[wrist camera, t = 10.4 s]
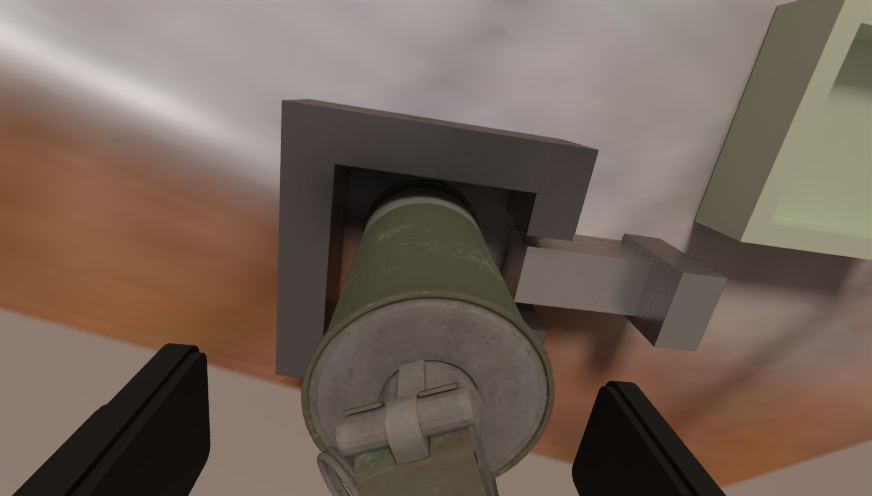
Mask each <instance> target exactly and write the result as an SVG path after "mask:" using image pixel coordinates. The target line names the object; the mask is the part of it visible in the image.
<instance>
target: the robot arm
mask: <svg viewBox="0 0 872 496" xmlns="http://www.w3.org/2000/svg"><path fill="white" fill-rule="evenodd" d="M208 401H209V400H208V377H207V357H206V354H205V353H199V349H198V347H197V346H195V345H184V344H172V343H169V344H166V345H165V346H163V347H162V348H161V349H160V350H159V351H158V352H157V353H156V354H155V355H154V357H153V358H152V359H151V360H150V361H149V362H148V363H147V364H146V365H145V366H144V367H143V368H142V369H141V370H140V371H139V372H138V373H137V374H136V375H135V376H134V377H133V378H132V379H131V380H130V381H129V382H128V383H127V384H126V385H125V386H124V387H123V389H122V390H121V391H120V392H119V393H118V394H117V395H116V396H115V397H114V398H113V399H112V400H111V401H110V402H109V403H108V404H106V405H103V406H101V407H100V408H99V409H98V410H97V411H95V413H93V415H91V416H90V418H88V419H87V420H86V421H85V422H84V423H83V424H82V425H81V426H80V427H79V428H78V429H77V431H76V432H75V433H74V434H73V435H72V436H71V437H70V438H69V439H68V440H67V441H66V442H65V443H64V444H63V445H62V446H61V447H60V448H59V449H58V450H57V451H56V452H55V453H54V454H53V455H52V456H51V457H50V458H49V459H48V460H47V461H46V462H45V463H44V464H43V465H42V466H41V467H40V468H39V469H38V470H37V471H36V472H35V473H34V474H33V475H32V476H31V477H30V478H29V479H28V480H27V481H26V482H25V483H24V484H23V485H22V486H21V487H20V488H19V489H18V490H17V491H16V492H15V493H14V494H13V495H12V496H188V495H189V493H190V491H191V490H192V488H193V486H194V484H195V482H196V480H197V479H198V477H199V475H200V473H201V471H202V469H203V468H204V465H205V464H206V462H207V459H208V456H209V452H210V424H209V402H208ZM572 477H573V482H574V484H575V487H576V489H577V491H578V493H579V496H726V495H725V494H724V492H723V491H722V490H721V489H720V488H719V486H718V485H717V484H716V483H715V481H714V480H713V479H712V478H711V476H710V475H709V474H708V473H707V471H706V470H705V469H704V468H703V466H702V465H701V464H700V463H699V462H698V460H697V459H696V458H695V457H694V455H693V454H692V453H691V452H690V450H689V449H688V448H687V447H686V445H685V444H684V443H683V442H682V440H681V439H680V438H679V437H678V436H677V434H676V433H675V432H674V431H673V429H672V428H671V427H670V426H669V424H668V423H667V422H666V421H665V419H664V418H663V417H662V416H661V414H660V413H659V412H658V411H657V409H656V408H655V407H654V406H653V405H652V403H651V402H650V401H649V400H648V398H647V397H646V396H645V395H644V393H643V392H642V391H641V390H640V388H639V387H638V386H637V385H636V384H635V383H632V382H621V381H609V382H608V383H607V384H606V385H605V386H602V387H601V388H600V390H599V392H598V395H597V398H596V400H595V403H594V406H593V409H592V412H591V415H590V418H589V420H588V423H587V426H586V429H585V432H584V435H583V438H582V440H581V443H580V446H579V449H578V452H577V455H576V458H575V460H574V463H573V467H572Z"/></svg>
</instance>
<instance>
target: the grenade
mask: <svg viewBox="0 0 872 496" xmlns="http://www.w3.org/2000/svg"><path fill="white" fill-rule="evenodd" d="M554 395H555V384H554V377H553V371H552V367H551V364H550V360H549V358H548V355H547V353H546V351H545V349H544V347H543V345H542V343H541V341H540V340H539V339H538V337H537V336H536V335H535V333H534V332H533V330H532V329H531V328H530V327H529V326H528V325H527V324H526V323H525V322H524V320H523V318H522V316H521V314H520V312H519V310H518V309H517V307H516V304H515V302H514V300H513V298H512V296H511V294H510V292H509V290H508V288H507V286H506V284H505V282H504V280H503V277H502V275H501V273H500V271H499V269H498V267H497V265H496V263H495V261H494V259H493V257H492V255H491V252H490V250H489V248H488V246H487V244H486V242H485V240H484V238H483V236H482V234H481V232H480V230H479V224H478V220H477V217H476V215H475V212H474V210H473V209H472V207H471V205H470V204H469V202H468V201H467V200H466V199H465V198H464V197H463V196H462V195H461V194H460V193H458V192H457V191H456V190H454V189H453V188H451V187H449V186H447V185H445V184H443V183H440V182H436V181H430V180H412V181H407V182H404V183H401V184H398V185H396V186H394V187H392V188H390V189H389V190H387V191H386V192H384V193H383V194H382V195H381V196H380V197H379V198H378V199H377V200H376V201H375V202H374V204H373V205H372V207H371V208H370V210H369V212H368V214H367V216H366V219H365V223H364V228H363V236H362V239H361V242H360V244H359V247H358V250H357V252H356V255H355V258H354V260H353V263H352V266H351V268H350V271H349V274H348V276H347V279H346V282H345V284H344V287H343V290H342V292H341V295H340V298H339V300H338V303H337V306H336V308H335V311H334V314H333V316H332V319H331V322H330V324H329V327H328V330H327V332H326V333H325V334H324V336H323V337H322V338H321V340H320V341H319V343H318V344H317V346H316V348H315V349H314V351H313V353H312V355H311V357H310V359H309V361H308V364H307V367H306V369H305V373H304V378H303V383H302V392H301V401H302V411H303V416H304V419H305V423H306V426H307V429H308V431H309V433H310V435H311V437H312V439H313V441H314V443H315V444H316V446H317V447H318V448H319V450H320V451H321V452H322V453H320V454H319V456H318V457H317V463H318V466H319V469H320V472H321V474H322V477H323V479H324V481H325V483H326V485H327V487H328V488H329V490H330V492H331V493H332V495H333V496H341V495H342V496H350V494H349V493H348V491H347V490H346V488H345V487H344V485H343V483H344V484H345V485H346V487H347V488H348V490H349V491H350V493H351V494H352V496H499V495H498V490H497V485H496V481H495V478H496V477H498V476H500V475H502V474H503V473H505V472H506V471H508V470H509V469H511V468H512V467H514V466H515V465H516V464H517V463H518V462H520V461H521V460H522V459H523V458H524V457H525V456H526V455H527V454H528V453H529V452H530V450H531V449H532V448H533V447H534V446H535V444H536V443H537V442H538V440H539V439H540V437H541V435H542V434H543V432H544V430H545V428H546V426H547V424H548V422H549V419H550V416H551V413H552V408H553V404H554ZM324 461H325V462H324ZM325 464H326V465H325ZM326 467H327V468H326ZM327 469H328V470H327ZM328 471H329V472H328ZM329 473H330V475H329ZM330 476H331V477H330ZM350 477H351V478H352V479H351V478H350ZM331 478H332V479H333V481H334V483H335V484H334V483H333V481H332V479H331ZM341 480H342V481H343V483H342V481H341ZM352 480H353V481H354V482H353V481H352ZM355 484H356V485H357V486H356V485H355ZM335 485H336V486H335ZM336 487H337V488H338V489H337V488H336ZM357 487H358V488H357ZM358 489H359V490H358ZM338 490H339V491H338ZM339 492H340V493H339ZM340 494H341V495H340Z"/></svg>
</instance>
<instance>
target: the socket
mask: <svg viewBox="0 0 872 496" xmlns="http://www.w3.org/2000/svg"><path fill="white" fill-rule="evenodd" d="M598 151H599V150H597V149H593V148H590V147H586V146H583V145H580V144H576V143H573V142H570V141H566V140H562V139H556V138H550V137H543V136H537V135H531V134H524V133H518V132H512V131H506V130H499V129H493V128H487V127H480V126H474V125H468V124H462V123H455V122H449V121H443V120H436V119H430V118H424V117H418V116H411V115H405V114H399V113H392V112H386V111H380V110H374V109H367V108H361V107H355V106H348V105H342V104H336V103H330V102H323V101H317V100H311V99H301V100H282V122H281V167H280V212H279V256H278V301H277V346H276V375H283V376H293V377H304V373H305V369H306V367H307V364H308V361H309V359H310V357H311V355H312V353H313V351H314V349H315V348H316V346H317V344H318V343H319V341H320V340H321V338H322V337H323V336H324V334H325V333H326V332H327V330H328V327H329V324H330V322H331V319H332V316H333V314H334V311H335V308H336V306H337V303H338V298H339V285H340V273H341V260H342V247H343V235H344V222H345V210H346V197H347V185H348V172H349V166H353V167H360V168H367V169H374V170H380V171H387V172H394V173H401V174H408V175H415V176H422V177H429V178H436V179H443V180H450V181H457V182H463V183H470V184H477V185H484V186H491V187H498V188H505V189H511V191H510V196H509V200H508V205H507V209H506V210H507V211H508V213H509V214H510V215H511V216H512V218H513V219H514V220H515V221H516V223H517V224H518V225H519V226H520V228H521V229H522V230H523V231H524V233H525V234H526V235H528V236H535V237H543V238H550V239H558V240H565V241H573V238H574V235H575V231H576V228H577V224H578V221H579V217H580V214H581V210H582V207H583V203H584V200H585V196H586V193H587V189H588V186H589V182H590V179H591V175H592V172H593V168H594V165H595V161H596V158H597V154H598ZM515 304H516V307H517V309H518V310H519V312H520V314H521V316H522V318H523V320H524V322H525V323H526V324H527V325H528V326H529V327H530V328H531V329H532V330H533V332H534V333H535V335H536V336H537V337H538V339H539V340H540V341H541V343H542V345H543V344H544V340H545V337H546V333H547V331H546V329H545V327H544V325H543V323H542V322H541V320H540V318H539V316H538V315H537V313H536V311H535V309H534V307H533V306H532V304H528V303H519V302H515Z"/></svg>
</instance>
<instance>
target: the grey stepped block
mask: <svg viewBox="0 0 872 496" xmlns="http://www.w3.org/2000/svg"><path fill="white" fill-rule="evenodd" d="M502 277H503V280H504V282H505V284H506V286H507V288H508V290H509V292H510V294H511V296H512V298H513V300H514V302H519V303H528V304H536V305H545V306H553V307H562V308H571V309H579V310H588V311H596V312H605V313H614V314H622V315H624V316H625V317H626V318H627V319H628V320H629V321H630V322H631V323H632V324H633V325H634V326H635V327H636V328H637V329H638V330H639V331H640V332H641V333H642V335H643V336H644V337H645V338H646V339H647V340H648V341H649V342H650V343H651V344H652V345H653V346H654V347H661V348H670V349H679V350H688V351H696V350H697V348H698V346H699V343H700V341H701V339H702V337H703V334H704V332H705V330H706V328H707V325H708V323H709V321H710V318H711V316H712V314H713V312H714V309H715V307H716V305H717V302H718V300H719V298H720V296H721V293H722V291H723V289H724V287H725V284H726V282H727V280H728V278H726V277H725V276H723V275H721V274H719V273H718V272H716V271H714V270H713V269H711V268H709V267H707V266H706V265H704V264H702V263H701V262H699V261H697V260H695V259H694V258H692V257H690V256H689V255H687V254H685V253H683V252H682V251H680V250H678V249H677V248H675V247H673V246H671V245H670V244H668V243H666V242H665V241H663V240H661V239H657V238H650V237H643V236H635V235H628V234H625V235H624V238H623V241H618V240H610V239H603V238H596V237H588V236H581V235H574V238H573V241H565V240H558V239H550V238H543V237H535V236H528V235H526V234H525V233H524V231H523V230H522V229H521V228H520V227H514V226H513V227H512V231H511V236H510V240H509V244H508V249H507V253H506V257H505V262H504V266H503V271H502Z"/></svg>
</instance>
